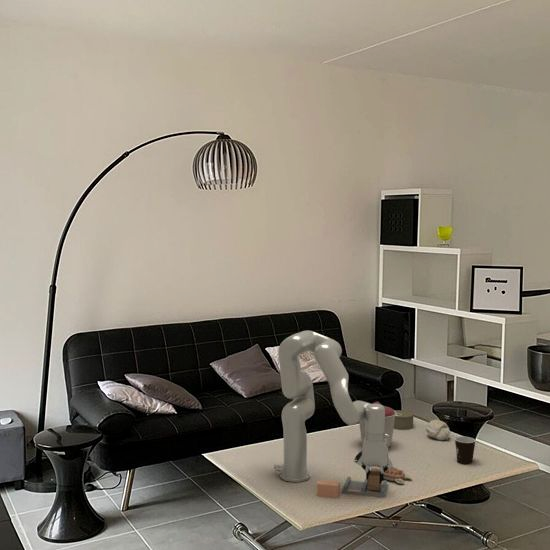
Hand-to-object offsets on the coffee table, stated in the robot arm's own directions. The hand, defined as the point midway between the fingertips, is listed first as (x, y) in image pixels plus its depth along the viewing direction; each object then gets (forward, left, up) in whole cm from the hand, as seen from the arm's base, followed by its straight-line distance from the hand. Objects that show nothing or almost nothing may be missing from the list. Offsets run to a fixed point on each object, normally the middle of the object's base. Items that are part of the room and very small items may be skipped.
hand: (374, 481), depth 279 cm
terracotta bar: (-17, -9, -4) cm, 19 cm away
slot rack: (-4, 0, -4) cm, 5 cm away
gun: (-6, +29, -4) cm, 30 cm away
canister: (-7, +53, -4) cm, 54 cm away
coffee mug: (+33, +44, -4) cm, 55 cm away
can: (+1, +87, -4) cm, 87 cm away
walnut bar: (0, +1, -2) cm, 2 cm away
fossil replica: (+20, +73, -4) cm, 76 cm away
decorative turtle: (+4, +15, -4) cm, 16 cm away
